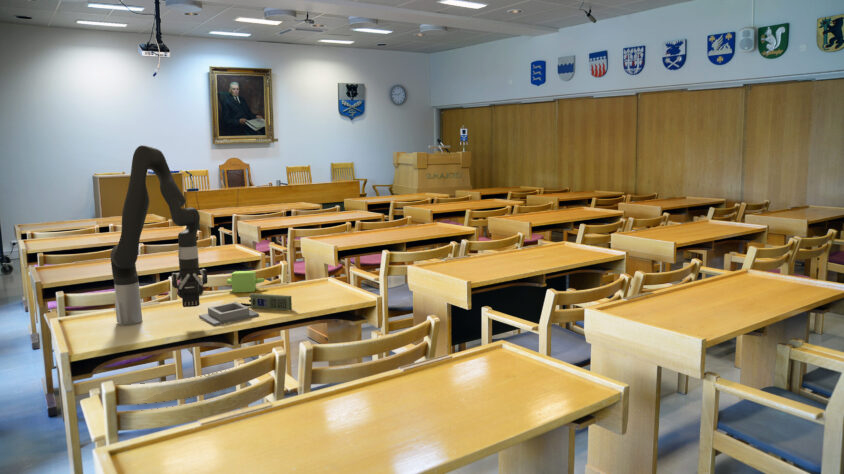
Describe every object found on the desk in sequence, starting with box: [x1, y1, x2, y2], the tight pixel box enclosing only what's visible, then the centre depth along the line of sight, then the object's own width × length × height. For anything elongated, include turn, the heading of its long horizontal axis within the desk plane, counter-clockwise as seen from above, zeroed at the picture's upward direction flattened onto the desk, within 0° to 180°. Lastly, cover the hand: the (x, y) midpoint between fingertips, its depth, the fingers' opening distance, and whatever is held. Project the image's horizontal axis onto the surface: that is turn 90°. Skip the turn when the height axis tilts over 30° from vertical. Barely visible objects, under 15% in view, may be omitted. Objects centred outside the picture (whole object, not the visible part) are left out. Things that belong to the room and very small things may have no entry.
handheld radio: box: [240, 293, 293, 311], centre depth 282 cm, size 7×3×25 cm
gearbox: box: [226, 270, 265, 293], centre depth 314 cm, size 18×10×10 cm, turn 98°
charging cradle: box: [198, 301, 260, 327], centre depth 270 cm, size 20×16×4 cm
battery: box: [181, 280, 201, 308], centre depth 258 cm, size 7×4×11 cm, turn 105°
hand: (190, 295), depth 258 cm, fingers closed on battery, 7 cm apart
